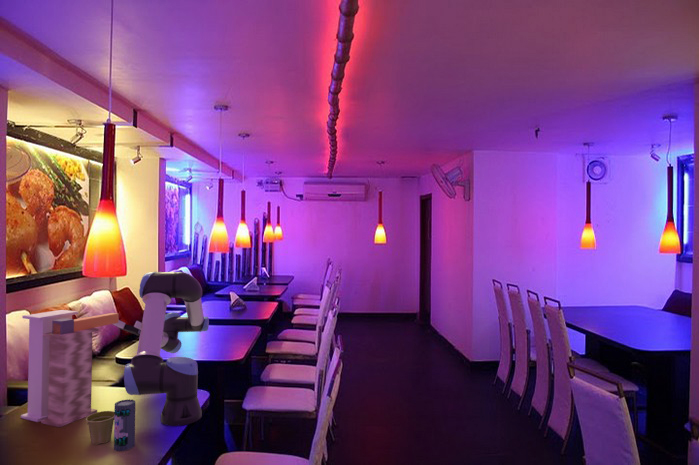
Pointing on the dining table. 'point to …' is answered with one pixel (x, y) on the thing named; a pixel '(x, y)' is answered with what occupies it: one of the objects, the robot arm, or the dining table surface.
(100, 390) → the dining table surface
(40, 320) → the grey stand
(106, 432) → the plant pot
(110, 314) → the orange bar
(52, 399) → the birch stand
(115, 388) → the dining table surface
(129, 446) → the can
